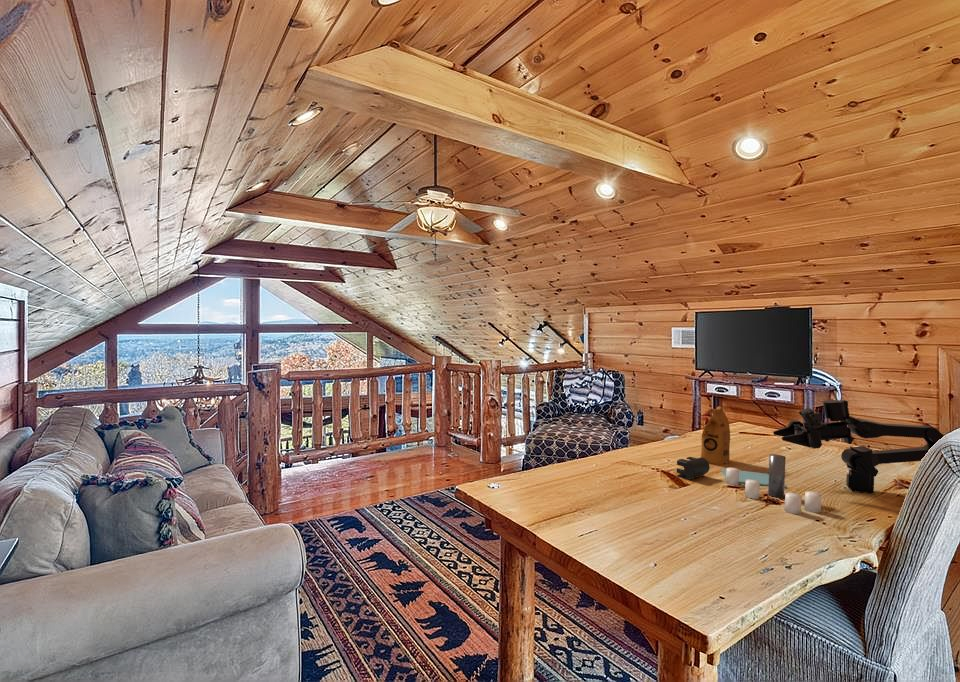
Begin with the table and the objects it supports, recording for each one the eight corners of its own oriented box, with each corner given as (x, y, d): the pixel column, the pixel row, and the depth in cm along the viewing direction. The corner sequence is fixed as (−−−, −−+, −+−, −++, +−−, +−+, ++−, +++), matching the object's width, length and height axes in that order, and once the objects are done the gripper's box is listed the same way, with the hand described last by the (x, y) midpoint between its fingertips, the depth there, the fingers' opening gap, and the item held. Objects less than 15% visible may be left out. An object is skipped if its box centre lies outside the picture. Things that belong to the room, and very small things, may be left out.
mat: (774, 475, 173) (774, 474, 173) (786, 488, 160) (786, 486, 160) (720, 470, 178) (721, 468, 178) (728, 481, 165) (728, 480, 165)
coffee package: (696, 461, 190) (698, 407, 190) (708, 455, 199) (709, 404, 198) (722, 466, 183) (724, 411, 182) (733, 460, 192) (735, 407, 191)
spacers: (750, 480, 167) (750, 466, 167) (824, 512, 139) (824, 495, 139) (715, 482, 165) (716, 468, 164) (783, 515, 136) (784, 498, 136)
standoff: (782, 494, 154) (784, 455, 153) (785, 498, 150) (786, 458, 149) (767, 492, 155) (768, 453, 155) (769, 496, 151) (770, 456, 151)
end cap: (693, 482, 164) (694, 463, 164) (675, 476, 170) (676, 458, 170) (709, 477, 170) (710, 459, 170) (691, 472, 176) (692, 454, 176)
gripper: (813, 403, 170) (765, 409, 174) (836, 412, 152) (782, 418, 157) (818, 434, 170) (770, 438, 174) (842, 446, 152) (788, 451, 156)
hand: (777, 436), depth 165 cm, fingers open, 9 cm apart
